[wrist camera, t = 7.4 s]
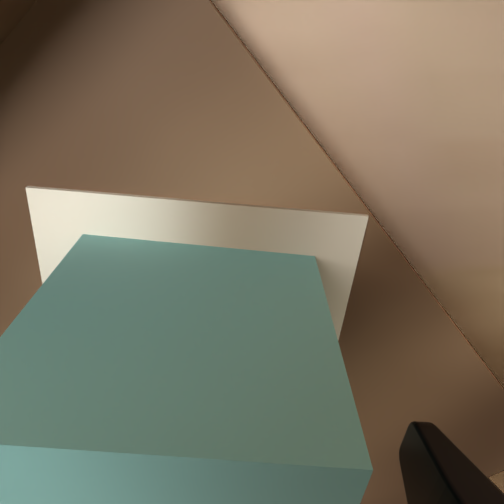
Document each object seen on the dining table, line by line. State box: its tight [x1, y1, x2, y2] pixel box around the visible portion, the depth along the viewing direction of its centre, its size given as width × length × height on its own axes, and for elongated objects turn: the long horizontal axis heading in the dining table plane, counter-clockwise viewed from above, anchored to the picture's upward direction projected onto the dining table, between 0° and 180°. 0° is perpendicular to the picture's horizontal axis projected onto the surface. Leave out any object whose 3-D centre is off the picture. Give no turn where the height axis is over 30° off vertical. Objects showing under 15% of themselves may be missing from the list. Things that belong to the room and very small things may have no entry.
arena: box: [0, 0, 504, 504], centre depth 11 cm, size 18×18×3 cm
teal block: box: [0, 234, 373, 504], centre depth 8 cm, size 5×5×5 cm
